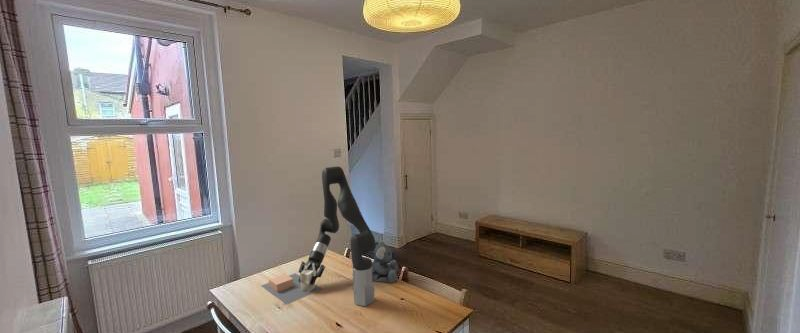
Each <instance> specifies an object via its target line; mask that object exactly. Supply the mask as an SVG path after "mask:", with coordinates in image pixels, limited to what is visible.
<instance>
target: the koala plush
mask: <svg viewBox="0 0 800 333" xmlns="http://www.w3.org/2000/svg"><path fill="white" fill-rule="evenodd" d="M377 244H378V245H376V247H375V249H374V250H373V260H372V279H373V281H374V282H376V283H377V282H385V283H390V282H391V283H395V282H397V281H398V279H399V278H398V274H397V273H398V272H399V265H398V263H397V261H396V260H395V259H393V258H394V257H395V254H394V253H393V252H392V250H391V248H390V247H389V245H388V244H386V241H385V240H379V241H378V243H377ZM392 259H393V260H392Z"/></svg>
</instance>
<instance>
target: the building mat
mask: <svg viewBox="0 0 800 333" xmlns="http://www.w3.org/2000/svg"><path fill="white" fill-rule="evenodd" d="M288 276H290V277H291V278H293V285H294V286H292V287H289V288H287V289H284V290H282V291H279V292H276V291H275V290H273V289H272V288H270V287H269V282H266V283H265V284H261V285H260V286H261V287H262V288H263V289H264V290H266V291H267V292H269V293H270V294H271V295H272V296H274V297H275V298H277V299H278V300H280V301H281V302H282V303H283V304H284V305H288V304H291V303H293V302H296V301H298V300H301V299H303V298H306V297H307V296H310V295H312V294H314V293H317V292H319V291H321V290H323V288H322V287H321V286H318V285H317V284H315V288H313V289H312V290H311V291H309V292H308V291H303V290H301V283H300V282H299V277H300V274H297V273H292V274H289V275H288Z"/></svg>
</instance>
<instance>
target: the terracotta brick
mask: <svg viewBox="0 0 800 333" xmlns="http://www.w3.org/2000/svg"><path fill="white" fill-rule="evenodd" d="M268 283H269V287H270V288H272V289H273V290H275V291H276V292H279V291H282V290H284V289H287V288H289V287H292V286H294V285H293V278H291V277H290V276H289V275H288V274H286V273H283V274H279V275H278V276H275V277H272V278H271V277H270V278H269V279H268Z"/></svg>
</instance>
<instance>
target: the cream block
mask: <svg viewBox="0 0 800 333" xmlns="http://www.w3.org/2000/svg"><path fill="white" fill-rule="evenodd" d="M299 275H300V282H301V290H303V291H308V292H309V291H311V290H312V289H313V288H315V285H316V284H315V283H316V282H315V283H314V284H313V285H311V284H310V281H311V279H312V277H313V271H312V270H307V269H306V270H305V271H303V272H301V273H299Z"/></svg>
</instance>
